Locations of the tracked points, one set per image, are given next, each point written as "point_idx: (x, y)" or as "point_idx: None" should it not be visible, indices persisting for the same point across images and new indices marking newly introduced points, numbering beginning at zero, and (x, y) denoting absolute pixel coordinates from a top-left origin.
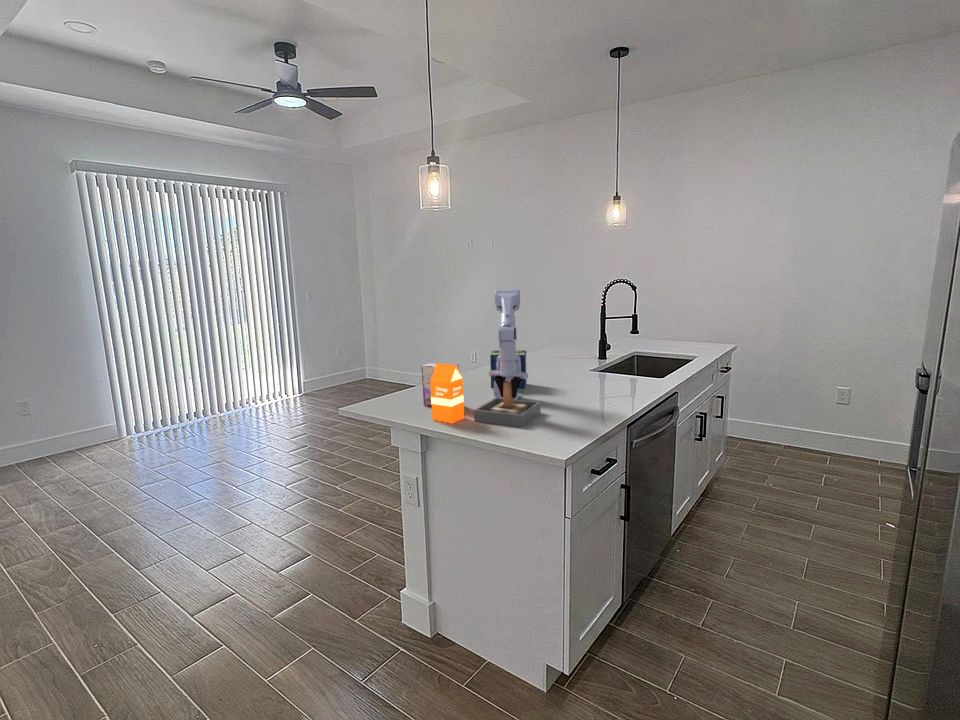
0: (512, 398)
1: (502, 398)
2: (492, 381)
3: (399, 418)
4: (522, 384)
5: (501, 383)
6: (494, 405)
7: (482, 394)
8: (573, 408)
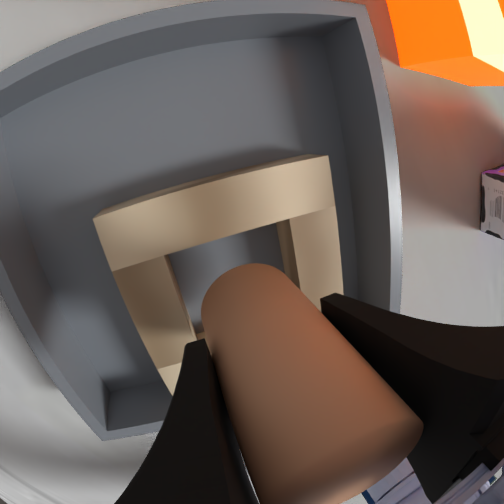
0: (210, 339)
1: None
2: None
3: None
4: None
5: (427, 387)
6: (366, 289)
7: None
8: (76, 473)
